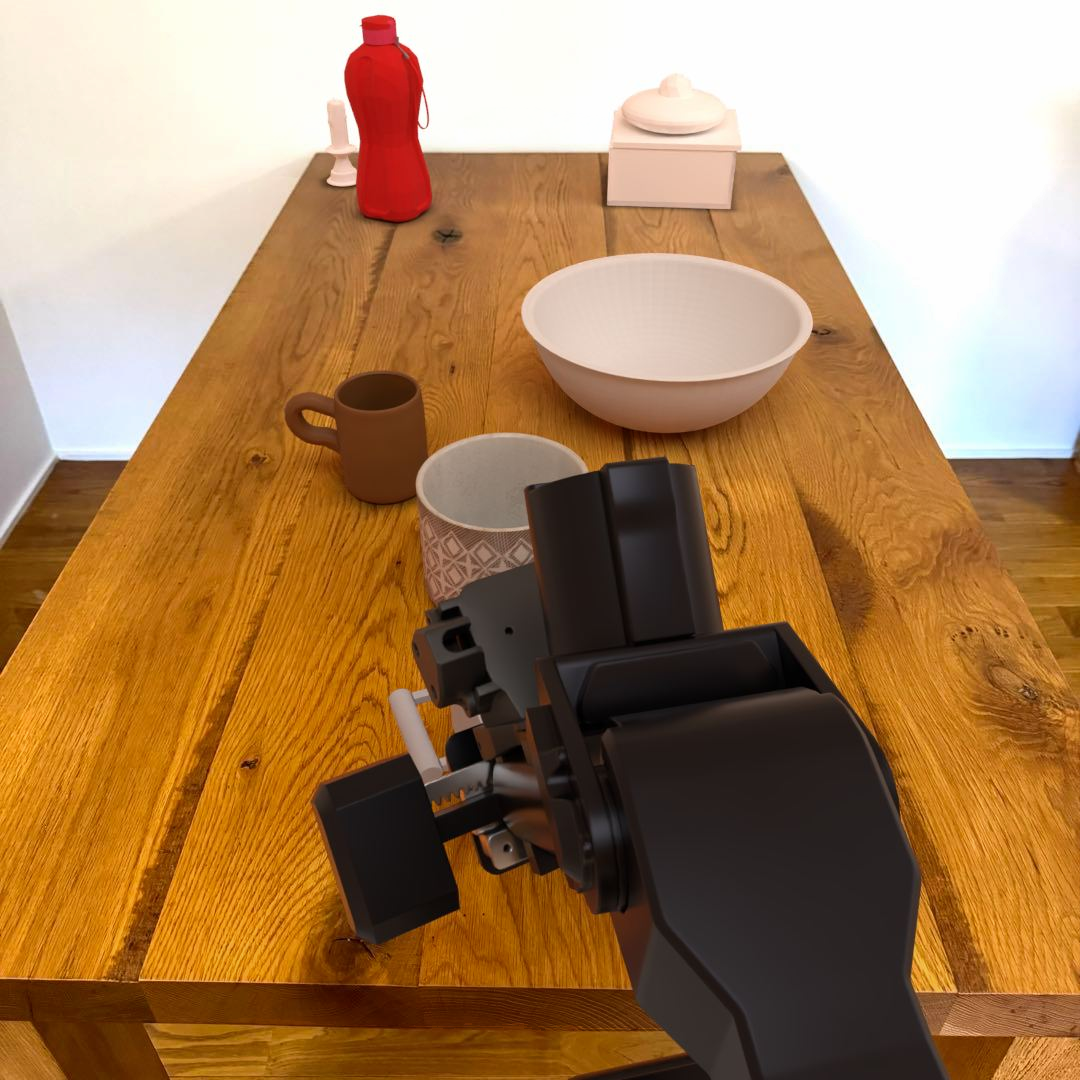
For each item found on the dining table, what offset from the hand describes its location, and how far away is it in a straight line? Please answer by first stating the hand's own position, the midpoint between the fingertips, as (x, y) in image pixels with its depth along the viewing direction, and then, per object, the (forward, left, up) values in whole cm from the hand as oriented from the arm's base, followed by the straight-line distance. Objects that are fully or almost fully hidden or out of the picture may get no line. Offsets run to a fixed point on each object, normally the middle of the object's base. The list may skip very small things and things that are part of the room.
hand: (498, 771), depth 50 cm
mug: (+46, +5, -14) cm, 48 cm away
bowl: (+54, -25, -14) cm, 61 cm away
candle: (+127, +2, -14) cm, 128 cm away
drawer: (+10, -4, -13) cm, 17 cm away
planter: (+29, -5, -14) cm, 33 cm away
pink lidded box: (+114, -45, -14) cm, 124 cm away
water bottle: (+112, -5, -14) cm, 113 cm away
